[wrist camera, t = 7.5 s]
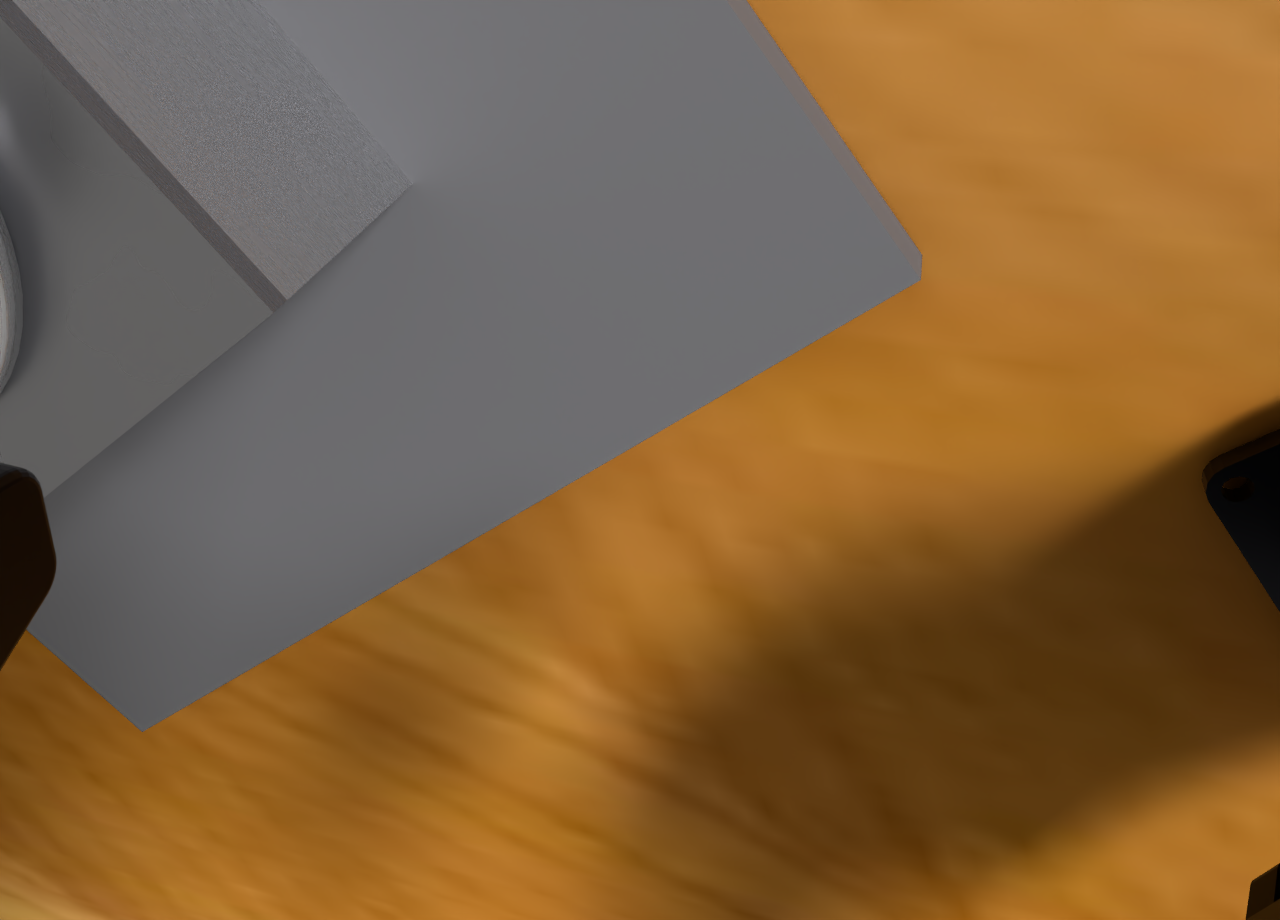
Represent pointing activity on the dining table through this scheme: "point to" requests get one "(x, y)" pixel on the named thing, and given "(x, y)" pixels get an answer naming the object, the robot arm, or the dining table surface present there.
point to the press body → (159, 203)
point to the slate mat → (470, 321)
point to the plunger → (9, 306)
